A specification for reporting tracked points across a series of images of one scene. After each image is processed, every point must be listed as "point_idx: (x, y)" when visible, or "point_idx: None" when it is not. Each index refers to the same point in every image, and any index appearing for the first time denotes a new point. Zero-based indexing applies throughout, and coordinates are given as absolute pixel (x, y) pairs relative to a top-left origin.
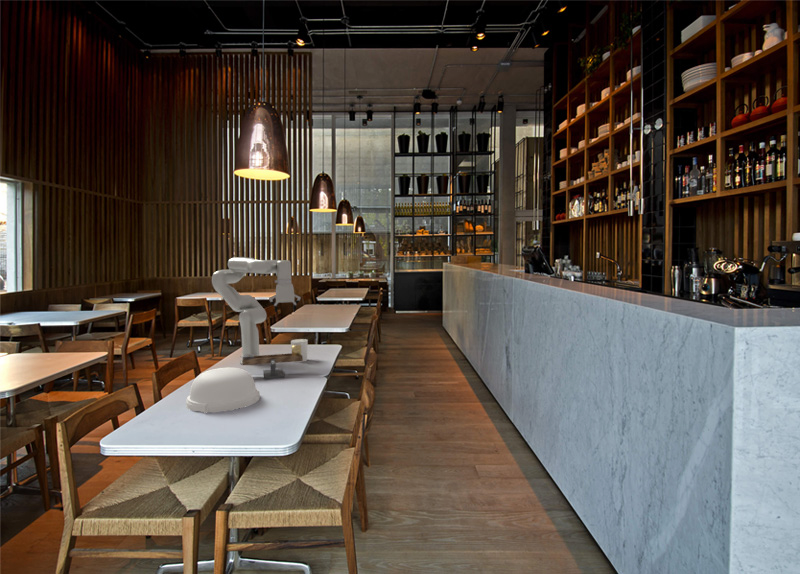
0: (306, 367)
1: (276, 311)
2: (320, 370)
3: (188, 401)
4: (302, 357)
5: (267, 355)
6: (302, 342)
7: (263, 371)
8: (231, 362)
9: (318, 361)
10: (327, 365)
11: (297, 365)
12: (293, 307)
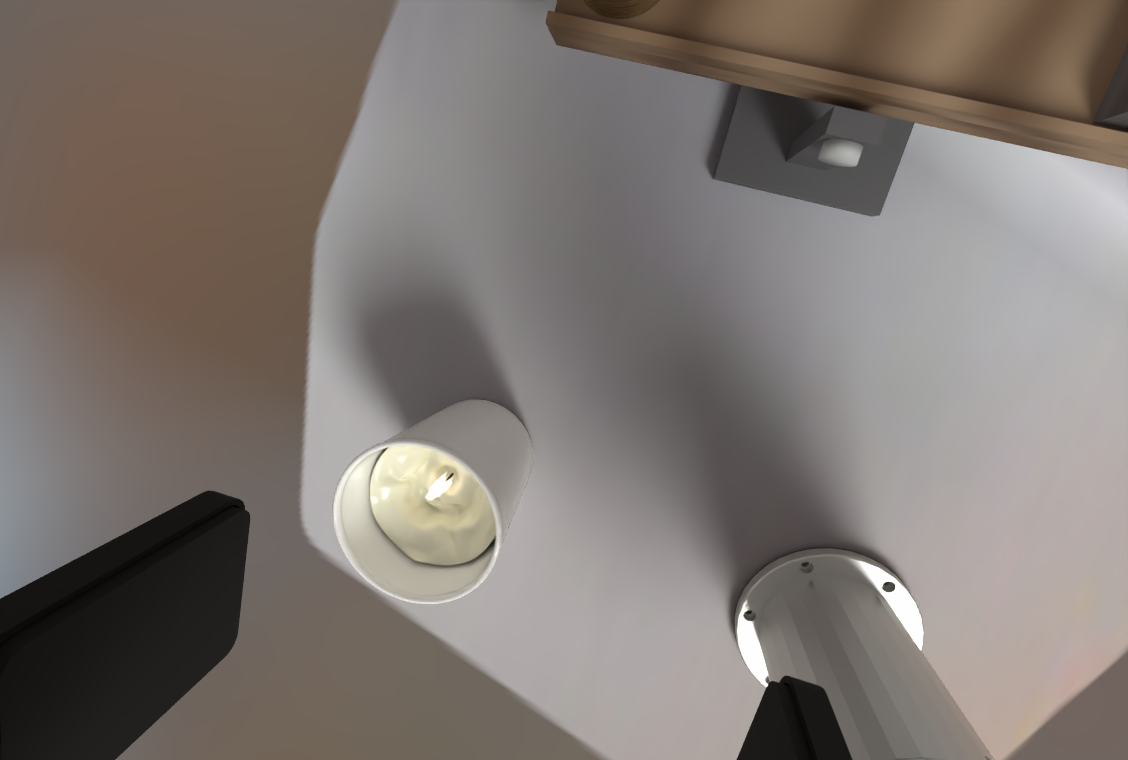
0: (506, 188)
1: (827, 721)
2: (440, 8)
3: None
4: None
5: (936, 95)
6: (405, 438)
7: (896, 166)
8: None
9: (368, 337)
10: (345, 158)
11: (546, 301)
12: (107, 647)
